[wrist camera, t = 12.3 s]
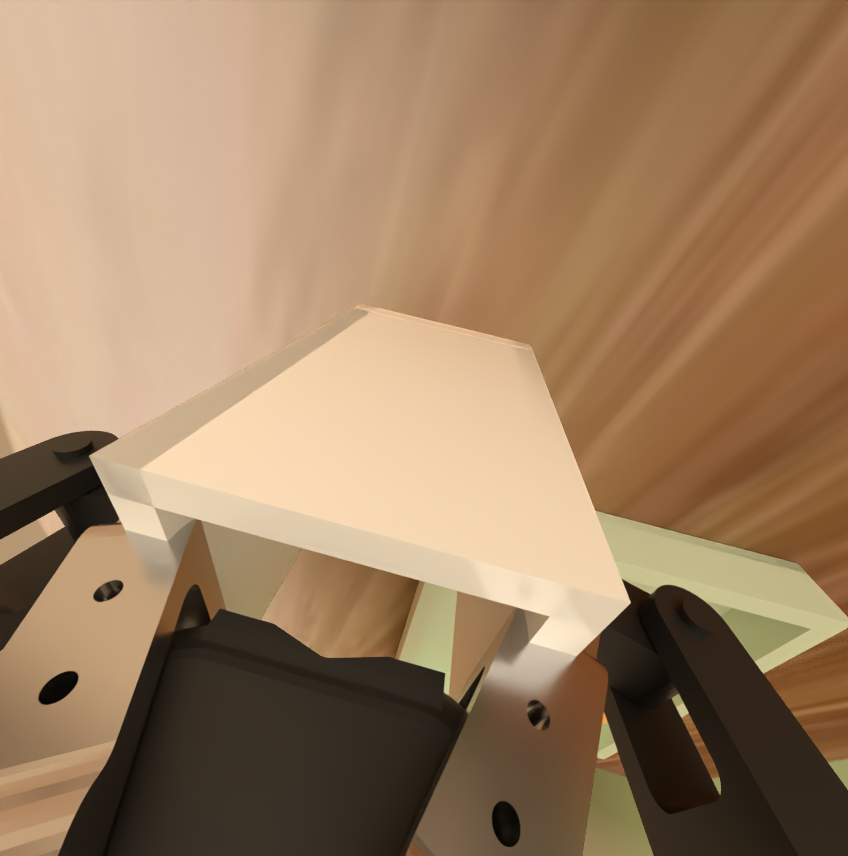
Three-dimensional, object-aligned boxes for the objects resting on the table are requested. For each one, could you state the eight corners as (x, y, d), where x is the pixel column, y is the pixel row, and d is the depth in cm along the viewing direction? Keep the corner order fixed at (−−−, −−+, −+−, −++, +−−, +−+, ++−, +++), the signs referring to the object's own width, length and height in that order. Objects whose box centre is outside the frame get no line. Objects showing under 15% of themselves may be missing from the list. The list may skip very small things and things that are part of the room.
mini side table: (360, 303, 11) (88, 455, 4) (530, 344, 11) (630, 602, 3) (349, 441, 14) (196, 675, 7) (480, 475, 14) (472, 758, 6)
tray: (797, 563, 16) (854, 624, 14) (593, 712, 28) (603, 759, 26) (452, 473, 17) (446, 515, 14) (395, 655, 29) (386, 695, 26)
